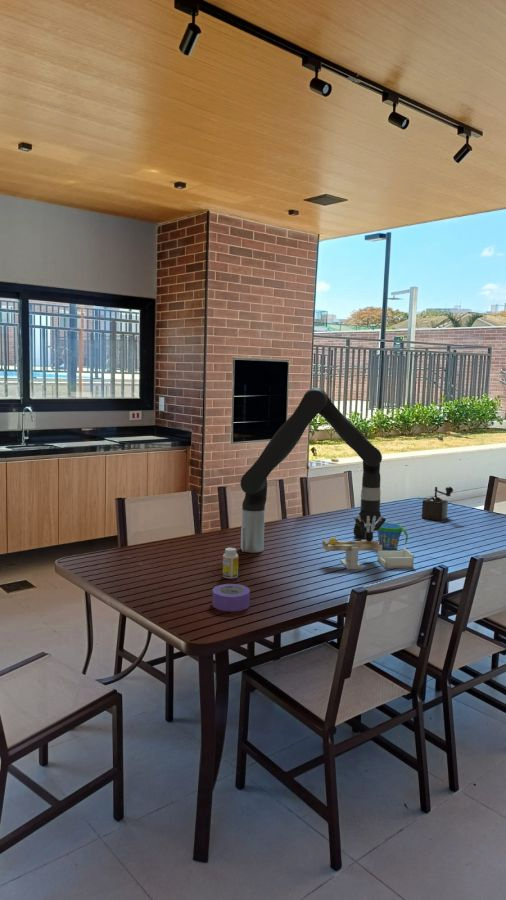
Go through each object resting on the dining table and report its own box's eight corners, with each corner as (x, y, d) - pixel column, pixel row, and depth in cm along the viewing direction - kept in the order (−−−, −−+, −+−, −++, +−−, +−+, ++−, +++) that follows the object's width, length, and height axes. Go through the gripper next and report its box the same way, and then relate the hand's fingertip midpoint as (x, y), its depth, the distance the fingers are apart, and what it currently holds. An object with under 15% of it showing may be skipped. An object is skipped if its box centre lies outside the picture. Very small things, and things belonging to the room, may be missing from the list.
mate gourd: (368, 535, 297) (369, 514, 295) (369, 539, 289) (371, 518, 288) (352, 534, 297) (353, 513, 296) (353, 539, 290) (354, 517, 288)
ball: (330, 546, 246) (330, 538, 246) (328, 544, 249) (328, 536, 249) (338, 546, 247) (338, 538, 246) (336, 544, 250) (336, 536, 249)
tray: (385, 568, 246) (386, 555, 246) (377, 560, 256) (378, 548, 256) (413, 567, 248) (413, 555, 247) (404, 560, 257) (404, 548, 257)
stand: (347, 569, 244) (348, 548, 243) (340, 560, 255) (341, 540, 254) (362, 568, 245) (363, 548, 244) (355, 560, 256) (355, 540, 255)
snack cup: (409, 549, 275) (411, 525, 274) (402, 554, 266) (403, 530, 265) (374, 543, 282) (375, 520, 281) (366, 548, 273) (367, 525, 272)
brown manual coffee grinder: (420, 518, 336) (422, 484, 334) (428, 514, 345) (430, 481, 343) (449, 522, 327) (451, 487, 325) (457, 519, 336) (459, 485, 333)
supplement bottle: (237, 574, 234) (238, 546, 233) (238, 579, 229) (239, 551, 228) (222, 574, 234) (222, 546, 233) (222, 579, 228) (223, 551, 227)
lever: (325, 550, 245) (326, 543, 244) (319, 542, 257) (319, 535, 256) (382, 550, 247) (382, 543, 247) (372, 542, 259) (373, 535, 259)
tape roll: (240, 614, 196) (241, 598, 195) (206, 608, 200) (206, 592, 200) (255, 602, 207) (255, 586, 206) (221, 596, 211) (222, 581, 211)
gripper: (356, 499, 250) (355, 543, 252) (389, 499, 251) (388, 543, 253) (351, 496, 257) (350, 538, 259) (383, 496, 259) (382, 538, 261)
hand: (368, 540), depth 256 cm, fingers closed
